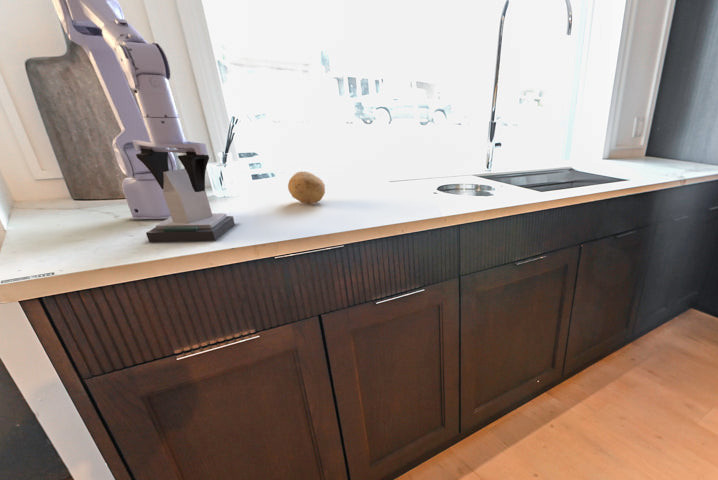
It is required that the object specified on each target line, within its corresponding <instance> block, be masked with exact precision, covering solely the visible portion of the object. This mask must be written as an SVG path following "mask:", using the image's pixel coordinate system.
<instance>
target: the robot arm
mask: <svg viewBox="0 0 718 480" xmlns="http://www.w3.org/2000/svg"><path fill="white" fill-rule="evenodd" d="M51 1H52V4H53V7H54V10H55V12H56V14H57V17H58V19H59V21H60V24H61V26H62V27H63V30H64V32H65V34H66V35H67V37H68V39H69V40H70V41H71V42H73V43H75V44H77V45H78V46H80V47H82V49H83V50H84V52H85V54H86V55H87V57H88V59H89V61H90V63H91V65H92V67H93V69H94V71H95V74H96V77H97V78H98V81H99V83H100V85H101V87H102V90H103V93H104V95H105V97H106V100H107V101H108V104H109V106H110V108H111V110H112V113H113V115H114V117H115V120H116V122H117V124H118V126H119V129H120V131H121V132H119V134H118V135H117V136H115V137H114V138H113V140H112V144H111V145H112V149H113V152H114V155H115V156H114V157H115V159H116V162H117V164H118V167H119V168H120V170H121V172H122V174H124V175H125V176H126V178H124V179H123V180H122V183H121V186H122V187H121V188H122V193H123V195H124V199H125V201H126V203H127V206H128V208H129V212H130V215H131V217H130V219H131V220H167V219H168V218H170V217H171V215H170V212H169V209H168V206H167V203H166V200H165V197H164V194H163V187H164V174H163V172H167V171H173V170H178V166H177V161H176V159H175V156H174V153H175V154H176V153H177V154H180V155H177V158H178V160H179V162H180V163H181V164H182V166H183V169H184V168H185V169H186V171H187V174H188V176H189V179H190V181H191V184H192V187H193V189H194V191H195V192H201V191H206V171H207V166H208V163H209V161H210V157H209V152H208V148H207V145H206V142H205V143H203V142H202V143H201V142H194V141H189V140H187V139H186V137H185V134H184V130H183V127H182V124H181V120H180V117H179V113H178V109H177V107H176V102H175V100H174V96H173V92H172V89H171V85H170V83H169V81H170V80H171V68H170V64H169V60H168V57H167V55H166V53H165V51H164V49H163V48H162V46H161V45H160V44H159V43H158V42H152V43H150V42H148V41H147V40H146V39H145V37H143V36H142V35H141V33H140V32H139V31H138V30H137V29H136V28H135V27H134V26H133V25H132V24H131V23H129V22H128V21H127V20H126V19H125V15H124V11H123V9H122V7H121V4H120V2H119V1H118V0H51ZM131 89H132V90H133V92H134V95H133V92H132V90H131ZM134 96H135V97H134ZM135 98H136V100H135ZM136 101H137V102H136Z"/></svg>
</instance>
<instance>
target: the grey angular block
mask: <svg viewBox="0 0 718 480" xmlns="http://www.w3.org/2000/svg"><path fill="white" fill-rule="evenodd" d="M163 174H164V187H163V194H164V197H165V200H166V203H167V206H168V209H169V212H170V215H171V218H172V221H173V222H179V223H191V222H195V221H198V220H201V219H204V218H207V217H211V216H213V215H212V213H213V211H212V208H211V205H210V202H209V198H208V194H207V191H206V190H205V191H201V192H195V191H194V189H193V187H192V184H191V181H190V179H189V176H188V174H187V171H186V169H185V168H184V167H183V168H180V169H177V170H173V171H167V172H163Z"/></svg>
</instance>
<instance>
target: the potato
mask: <svg viewBox="0 0 718 480" xmlns="http://www.w3.org/2000/svg"><path fill="white" fill-rule="evenodd" d="M287 190H288V192H289V194H290V195H291V197H292V198H293V199H295V200H297V201H299V202H300V203H301V204H312V205H314V204H316V203H318V202H320V201H321V200H323V197H324V196H325V194H326V185H325V183H324V181H323V180H322V179H321V178H320V177H318V176H316V175H315V174H314V173H311V172H308V171H297V172H296V173H294V174H293V175H292V176H291V177H290V179H289V181H288V184H287Z"/></svg>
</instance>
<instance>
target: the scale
mask: <svg viewBox="0 0 718 480" xmlns="http://www.w3.org/2000/svg"><path fill="white" fill-rule="evenodd" d="M212 215H213V216H211V217H207V218H204V219H201V220H198V221H195V222H191V223H179V222H173V221H172V218H171V217H170V218H168V219H164V220H163V221H161V222H159V223H157V224H156V225H155V227H154V228H152V229H149V230H148V231H146V232H145V234H146V238H147V240H148V242H149V243H179V242H180V243H181V242H215V241H217V240H218V239H219V238H221V237H222V236H223V235H224V234H225V233H227V232H228V231H229V230H230V229H232V228H233V227H234V226H235V225H236V224H235V220H234V216H233V215H227V213H223V212H221V213H220V212H219V213H217V212H216V213H213V212H212Z"/></svg>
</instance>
